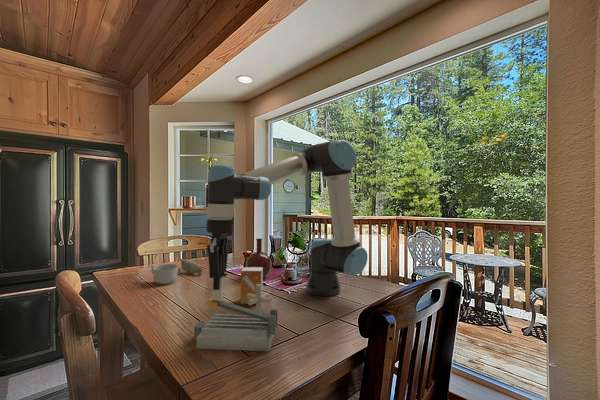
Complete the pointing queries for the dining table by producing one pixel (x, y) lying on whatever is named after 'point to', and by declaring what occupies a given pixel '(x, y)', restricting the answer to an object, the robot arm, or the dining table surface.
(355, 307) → the dining table surface
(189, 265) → the decorative bird
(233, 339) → the heatsink
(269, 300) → the pipe connector
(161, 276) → the teacup
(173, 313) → the dining table surface
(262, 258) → the round-bottom flask
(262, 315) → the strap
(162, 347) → the dining table surface
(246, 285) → the small box
